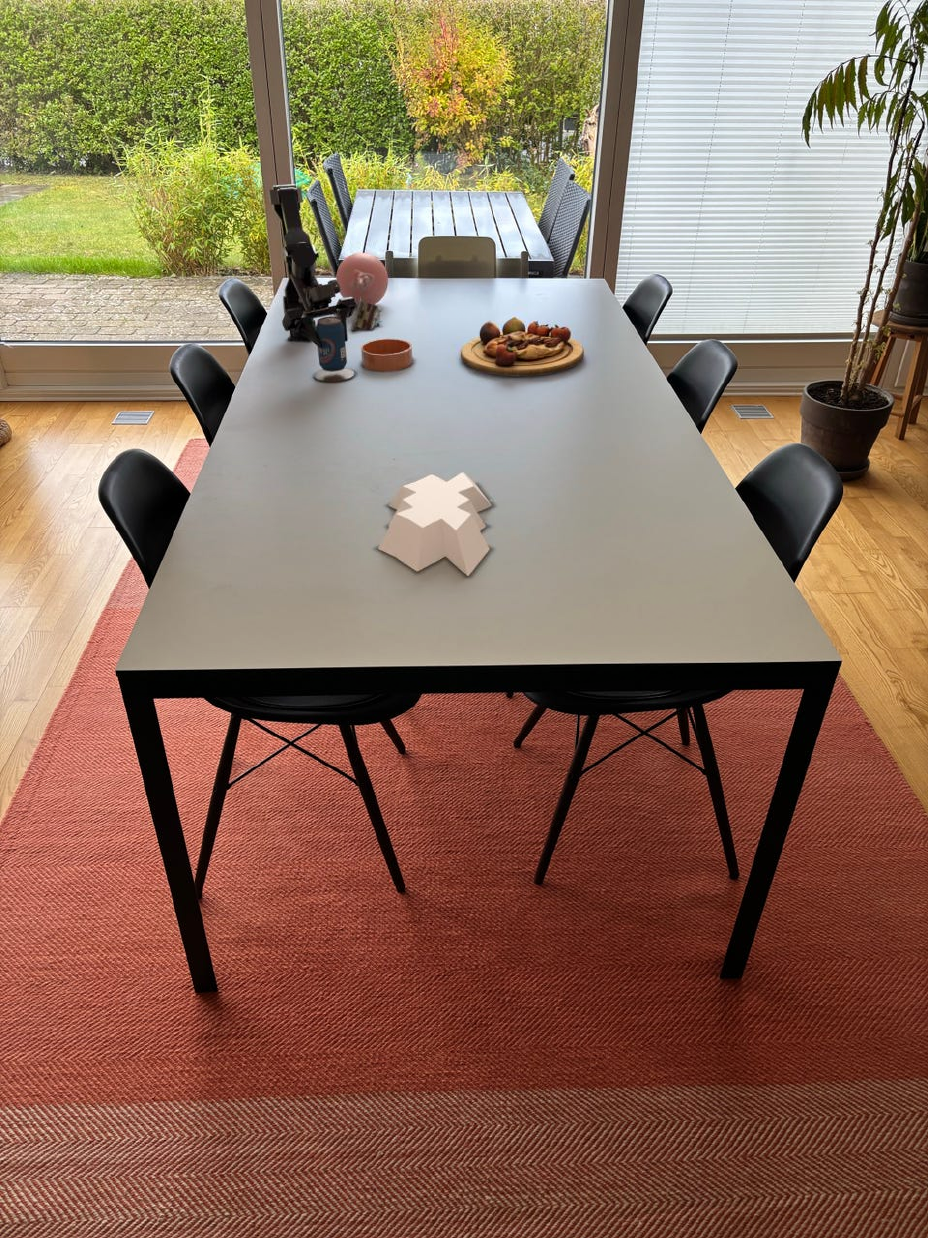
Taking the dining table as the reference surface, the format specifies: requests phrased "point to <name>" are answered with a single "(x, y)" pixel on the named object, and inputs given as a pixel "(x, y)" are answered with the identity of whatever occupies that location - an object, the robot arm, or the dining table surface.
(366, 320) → the chocolate cake
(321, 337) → the soda can
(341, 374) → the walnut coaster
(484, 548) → the tapered cross block
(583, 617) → the dining table surface
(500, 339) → the wooden plate
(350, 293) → the balloon
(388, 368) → the orange bowl
